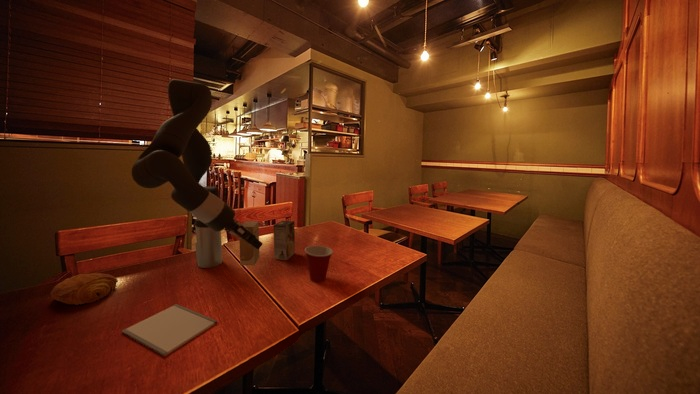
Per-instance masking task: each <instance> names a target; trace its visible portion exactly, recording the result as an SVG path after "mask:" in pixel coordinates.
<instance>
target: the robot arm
mask: <svg viewBox="0 0 700 394" xmlns="http://www.w3.org/2000/svg"><path fill="white" fill-rule="evenodd" d="M167 98H168V101H169V105H170V108H171V113H172V115H173V116H172V117H170V118H168V119H167V120H165V121H164V122H163V123H162V124H161V125H160V126H159V128H158V129H157V131H156V133H155V135H154V136H153V138H152V141H151V142H150V143H149V145H147V147H146V148H145V149H144V151H142V153H141V154H140V155H139V156H138V157H137V159H136V160H135V161H134V163H133V165H132V167H131V177H132V180H133V181H134V182H135V183H136V184H137V185H138V186H140V187H142V188H144V189H155V188H158V187H161V186H163V185H164V184H167V183H168V182H169V184H170V185H172V187H173V189H172V192H171V194H170V197H171V199H172V200H173V201H174V202H175V203H176V204H177V205H179V206H180V207H182V208H183V209H185V210H186V211H187V212H189V213H190V214H191V215H192V216H193V217H194V218H196V219H195V221H194V225H195V239H196V242H195V254H196V255H195V257H196V259H195V260H196V264H197V267H199V268H201V269H210V268H215V267H218V266H219V265H222V264H223V247H222V246H223V245H222V231H223V230H224V231H225V232H226V233H229V234H230V235H232V236H235V237H236V238H237V239H240V240H242V239H244V240H245V241H246V242H247V243H249V244H251V245H252V246H254V247H255V248H256V249H259V250H260V249H261V247H262V246H263V242H261V241H260V239H259V240H258V239H256V236H255V235H253V234H252V233H251V232H249V230H248V229H247V228H245V227H244V226H242V223H241V222H240V221H238V220H237V219H235V217H236V211H235V209H233V208H232V207H231V206H229V205H228V204H227V203H226V202H224V200H222V199H221V195H220V190H219V188H218V187H217V186H204V185H202V184H201V183H200V182H201V180H202V178H203V177H204V176H205V174H206V173H207V172H208V171H209V169H210V167H211V166H212V164H213V158H212V149H211V145H210V143H209V142H208V140H207V138H205V137H204V135H203V134H202V133H201V131H199V129H198V127H199V126H200V125H201V123H203V121H204V119H205V118H206V117H207V116H208V114H209V113H210V111H211V109H212V105H213V103H212V102H213V95H212V91H211V89H210V87H209V86H208V85H206V84H204V83H200V82H196V81H195V82H194V81H189V80H184V79H180V78H179V79H177V78H172V79H171V80H170V81H169V82H168V85H167ZM181 157H182V160H181V159H180V158H181ZM248 235H250V237H249V238H248V239H247V237H248Z"/></svg>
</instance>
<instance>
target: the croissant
mask: <svg viewBox="0 0 700 394" xmlns="http://www.w3.org/2000/svg"><path fill="white" fill-rule="evenodd" d="M118 282H119V280H118V279H117V278H116V277H115V276H114V275H111V274H108V273H103V272H102V273H101V272H100V273H96V272H95V273H93V272H92V273H82V274H81V273H79V274H77V275H74V276H71V277H68V278H65V279H64V280H63V281H61V282H59V283H57V284H56V285H54V287H53V288H52V291H51V292H50V296H51V299H54V300H56V301H58V302H61V303H64V304H66V305H73V304H74V305H75V306H76V305H77V306H79V304H80V305H86V304H88V303H94V302H96V300H97V301H99V300H100V298H101V299H103V298H104V297H106V296H109V295H108V294H110V293H111V292H110V291H112V290H113V291H115V289H116V287H117V283H118ZM113 291H112V292H113ZM93 301H94V302H93ZM85 303H86V304H85ZM74 305H73V306H74Z"/></svg>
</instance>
